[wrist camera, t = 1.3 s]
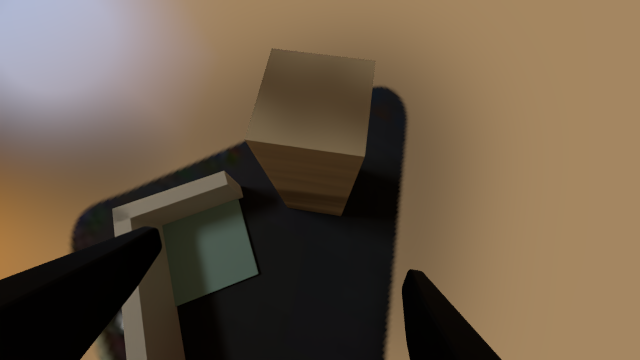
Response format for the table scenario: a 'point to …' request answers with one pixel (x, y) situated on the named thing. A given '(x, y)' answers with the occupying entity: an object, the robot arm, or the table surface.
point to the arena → (183, 259)
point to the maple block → (312, 127)
